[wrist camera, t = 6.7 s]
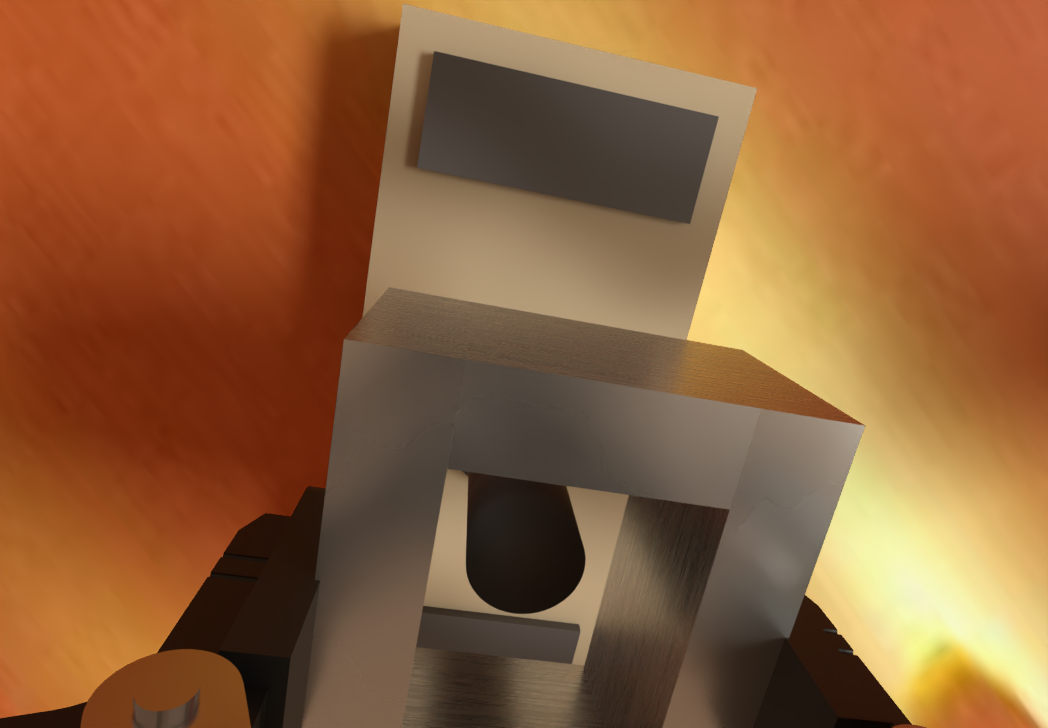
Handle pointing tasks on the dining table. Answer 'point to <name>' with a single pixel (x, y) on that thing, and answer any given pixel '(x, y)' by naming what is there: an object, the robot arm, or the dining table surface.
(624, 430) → the link
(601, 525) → the beige holder base
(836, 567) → the dining table surface
